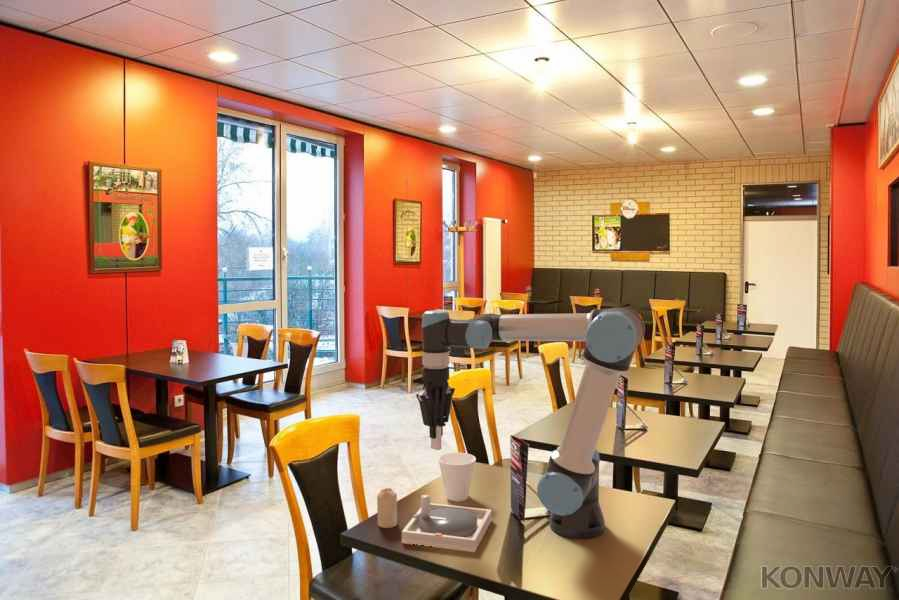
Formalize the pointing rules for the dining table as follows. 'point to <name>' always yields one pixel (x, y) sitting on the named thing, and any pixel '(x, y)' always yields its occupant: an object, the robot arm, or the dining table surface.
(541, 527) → the dining table surface
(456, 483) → the cup
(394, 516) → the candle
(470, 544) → the dial plate
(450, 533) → the dial
